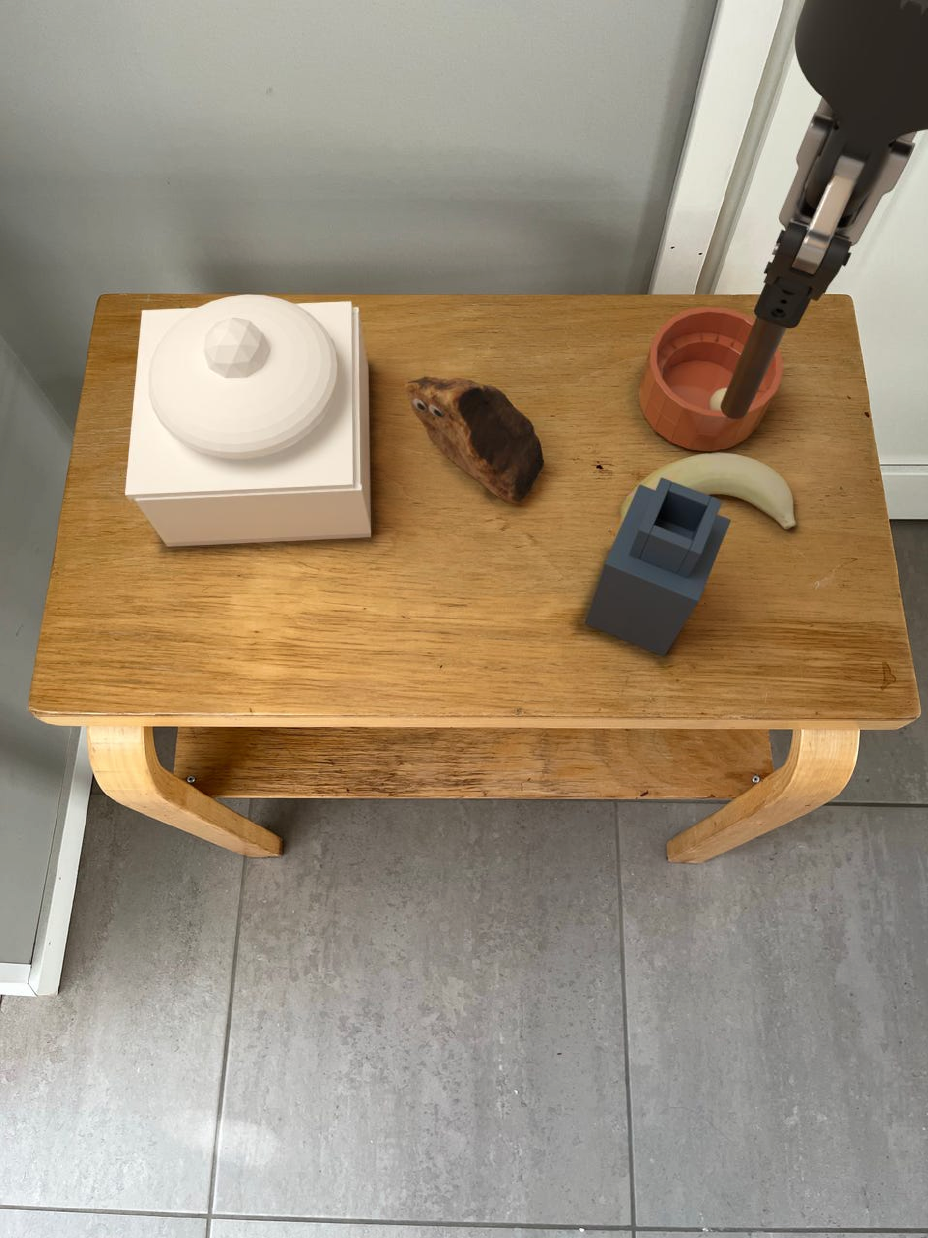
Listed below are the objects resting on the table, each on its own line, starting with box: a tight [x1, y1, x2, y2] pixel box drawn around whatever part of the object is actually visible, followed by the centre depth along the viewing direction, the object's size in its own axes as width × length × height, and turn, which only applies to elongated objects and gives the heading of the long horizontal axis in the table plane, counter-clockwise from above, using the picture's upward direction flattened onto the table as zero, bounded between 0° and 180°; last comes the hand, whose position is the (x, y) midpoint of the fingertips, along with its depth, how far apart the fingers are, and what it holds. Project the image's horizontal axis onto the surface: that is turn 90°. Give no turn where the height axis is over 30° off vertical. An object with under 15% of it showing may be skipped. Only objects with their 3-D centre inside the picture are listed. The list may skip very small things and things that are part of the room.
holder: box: [583, 477, 731, 657], centre depth 68 cm, size 7×7×16 cm
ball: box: [710, 388, 727, 411], centre depth 81 cm, size 3×3×3 cm
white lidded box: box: [124, 294, 372, 548], centre depth 74 cm, size 18×18×16 cm
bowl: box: [638, 306, 784, 452], centre depth 80 cm, size 11×11×6 cm
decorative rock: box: [404, 375, 545, 505], centre depth 76 cm, size 12×6×11 cm, turn 52°
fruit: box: [619, 452, 797, 530], centre depth 78 cm, size 7×15×3 cm, turn 96°
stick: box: [721, 316, 788, 419], centre depth 47 cm, size 2×2×14 cm
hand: (782, 300), depth 45 cm, fingers closed on stick, 1 cm apart
